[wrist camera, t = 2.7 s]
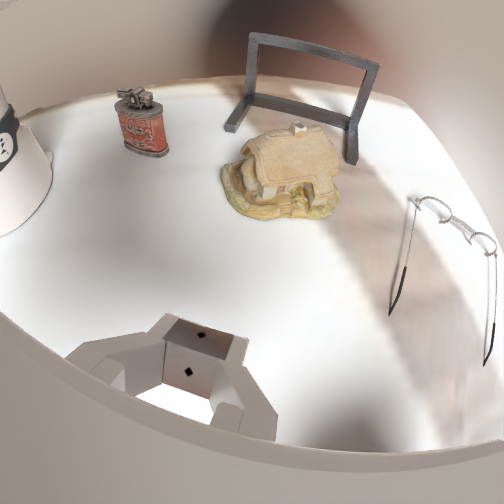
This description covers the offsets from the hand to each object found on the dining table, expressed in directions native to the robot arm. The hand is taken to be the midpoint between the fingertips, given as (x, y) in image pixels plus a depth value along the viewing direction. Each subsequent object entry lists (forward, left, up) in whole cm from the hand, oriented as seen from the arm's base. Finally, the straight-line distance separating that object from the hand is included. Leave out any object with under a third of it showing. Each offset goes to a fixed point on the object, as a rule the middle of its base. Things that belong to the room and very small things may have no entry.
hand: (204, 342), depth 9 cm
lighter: (-20, +25, -15) cm, 35 cm away
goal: (0, +37, -15) cm, 40 cm away
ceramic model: (+1, +22, -16) cm, 27 cm away
